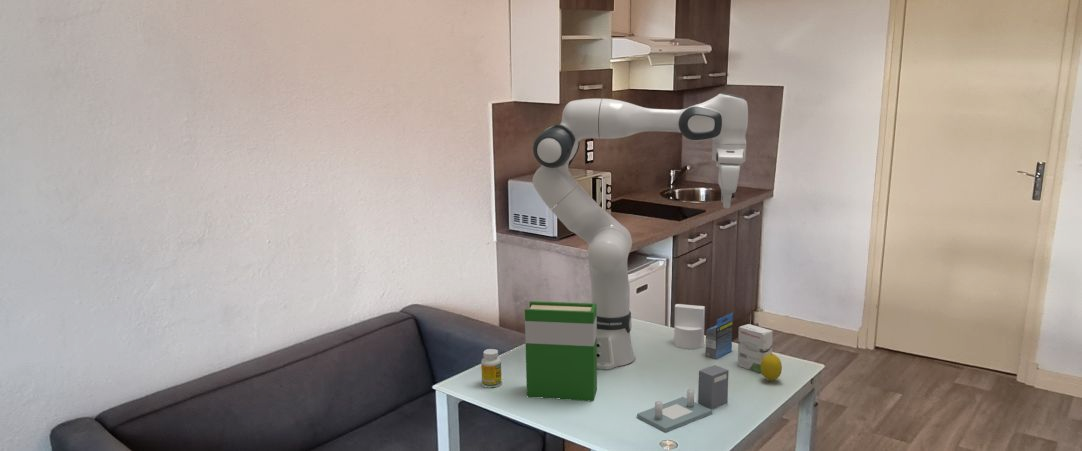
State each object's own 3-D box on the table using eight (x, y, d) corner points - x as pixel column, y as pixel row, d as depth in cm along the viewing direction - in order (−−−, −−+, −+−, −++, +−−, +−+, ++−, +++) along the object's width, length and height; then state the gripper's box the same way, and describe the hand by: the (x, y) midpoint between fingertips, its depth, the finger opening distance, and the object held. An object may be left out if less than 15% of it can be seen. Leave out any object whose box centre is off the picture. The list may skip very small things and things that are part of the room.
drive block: (711, 409, 200) (712, 376, 198) (697, 403, 204) (698, 370, 202) (727, 403, 203) (728, 370, 201) (713, 397, 207) (714, 364, 205)
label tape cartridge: (720, 348, 241) (722, 309, 238) (732, 351, 238) (733, 312, 236) (704, 356, 235) (705, 316, 232) (716, 359, 232) (717, 319, 230)
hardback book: (526, 397, 209) (524, 309, 204) (532, 385, 216) (530, 301, 211) (593, 401, 206) (593, 312, 201) (596, 389, 213) (596, 303, 208)
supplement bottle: (485, 379, 221) (484, 347, 219) (504, 381, 220) (503, 348, 218) (479, 387, 216) (478, 354, 214) (498, 389, 214) (497, 355, 212)
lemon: (777, 387, 213) (779, 358, 211) (757, 382, 215) (758, 354, 214) (783, 379, 217) (785, 352, 215) (763, 375, 220) (764, 348, 218)
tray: (665, 432, 188) (666, 412, 187) (636, 417, 196) (637, 398, 195) (712, 413, 198) (712, 395, 196) (682, 400, 205) (683, 382, 204)
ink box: (772, 369, 224) (774, 330, 222) (761, 374, 221) (763, 334, 218) (747, 361, 231) (748, 322, 228) (736, 365, 227) (737, 326, 225)
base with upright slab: (671, 347, 243) (672, 309, 240) (677, 337, 251) (677, 300, 248) (701, 350, 240) (702, 312, 237) (705, 340, 248) (706, 303, 245)
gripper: (715, 151, 225) (712, 199, 227) (718, 157, 205) (715, 210, 207) (737, 152, 224) (734, 200, 226) (743, 158, 204) (740, 211, 206)
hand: (725, 205), depth 217 cm, fingers open, 8 cm apart
